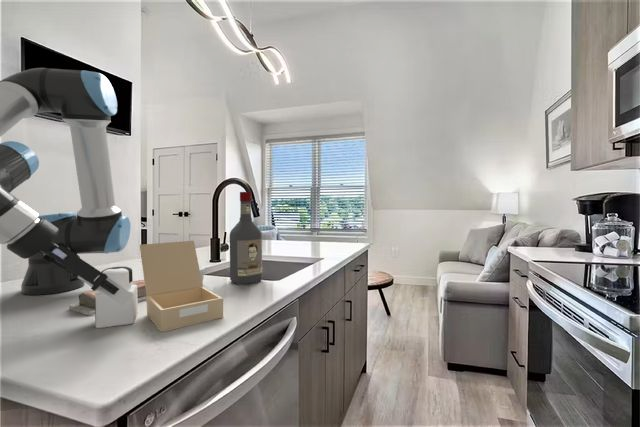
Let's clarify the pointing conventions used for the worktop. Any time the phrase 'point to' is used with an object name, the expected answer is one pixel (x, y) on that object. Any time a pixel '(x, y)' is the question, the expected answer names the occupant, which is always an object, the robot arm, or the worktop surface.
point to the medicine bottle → (111, 310)
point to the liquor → (245, 246)
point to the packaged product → (88, 299)
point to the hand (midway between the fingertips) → (116, 294)
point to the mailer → (176, 286)
